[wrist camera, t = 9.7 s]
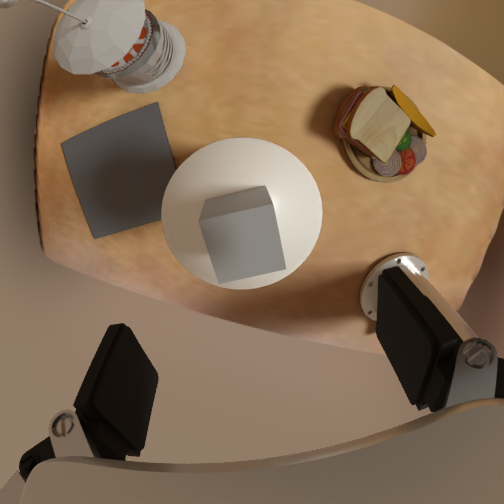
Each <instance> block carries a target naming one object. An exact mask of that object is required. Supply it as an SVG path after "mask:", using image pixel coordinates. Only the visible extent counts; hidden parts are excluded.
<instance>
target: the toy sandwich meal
mask: <svg viewBox="0 0 504 504" xmlns="http://www.w3.org/2000/svg"><path fill="white" fill-rule="evenodd" d="M426 134H427V135H429V136H431V137H434V136H435V135H436V133H435V131H434V130H433V129H432V127H431V126H430V125H429V123H428V122H427V120H426V119H425V118H424V117H423V115H422V114H421V113H420V111H419V109H418V108H417V106H416V105H415V104H414V102H413V101H412V100H411V99H410V98H409V97H408V96H406V95H405V94H404V93H403V92H402V91H401V90H400V89H399V88H398V87H397V86H395V85H393V86H392V88H389V87H373V88H371V89H369V88H368V87H358V88H356V89H355V90H353V91H352V92H351V93H350V94H349V95H348V96H347V98H346V99H345V100H344V102H343V104H342V105H341V107H340V109H339V111H338V114H337V117H336V120H335V124H334V135H335V137H338V138H342V139H343V142H344V146H345V149H346V152H347V155H348V157H349V159H350V160H351V162H352V164H353V165H354V166H355V167H356V169H357V170H358V171H359V172H361V173H362V174H363V175H364V176H366V177H368V178H370V179H372V180H374V181H378V182H395V181H398V180H401V179H403V178H404V177H406V176H408V175H409V174H410V173H411V172H412V171H413V170H414V169H415V168H416V167H417V165H418V164H420V163H421V162H423V161H424V159H425V157H426V154H427V149H426Z"/></svg>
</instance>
